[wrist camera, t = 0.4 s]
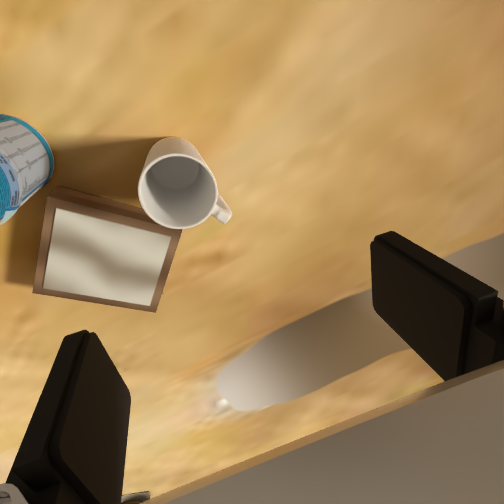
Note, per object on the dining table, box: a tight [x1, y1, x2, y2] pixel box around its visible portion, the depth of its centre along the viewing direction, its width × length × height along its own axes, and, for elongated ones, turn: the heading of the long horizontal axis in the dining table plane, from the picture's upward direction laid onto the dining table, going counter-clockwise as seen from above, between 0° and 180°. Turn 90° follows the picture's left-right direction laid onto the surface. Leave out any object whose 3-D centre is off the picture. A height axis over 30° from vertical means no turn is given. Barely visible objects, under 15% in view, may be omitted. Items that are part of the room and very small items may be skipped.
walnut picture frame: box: [33, 186, 182, 313], centre depth 39 cm, size 12×14×4 cm
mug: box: [138, 137, 232, 229], centre depth 34 cm, size 10×7×12 cm, turn 51°
